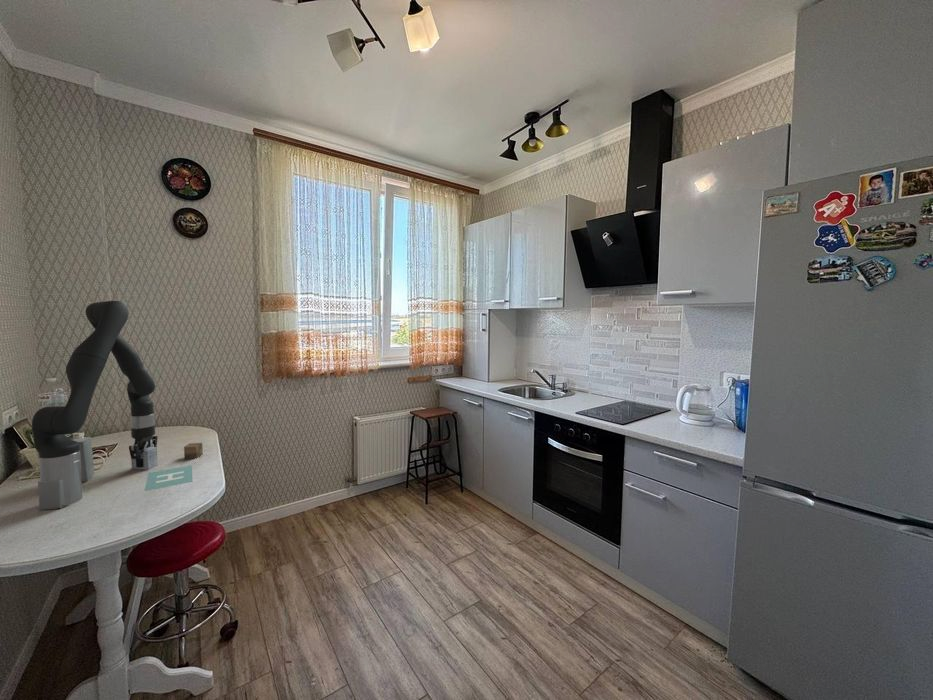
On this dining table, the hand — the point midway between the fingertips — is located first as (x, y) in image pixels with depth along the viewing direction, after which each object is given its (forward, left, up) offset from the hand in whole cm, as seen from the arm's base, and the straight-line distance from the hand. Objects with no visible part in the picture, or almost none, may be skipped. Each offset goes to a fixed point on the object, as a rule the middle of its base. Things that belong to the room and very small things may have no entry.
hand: (144, 464), depth 153 cm
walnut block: (+11, -13, -2) cm, 17 cm away
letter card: (-12, -16, -2) cm, 20 cm away
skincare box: (-9, +17, -2) cm, 19 cm away
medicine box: (0, 0, -2) cm, 2 cm away
